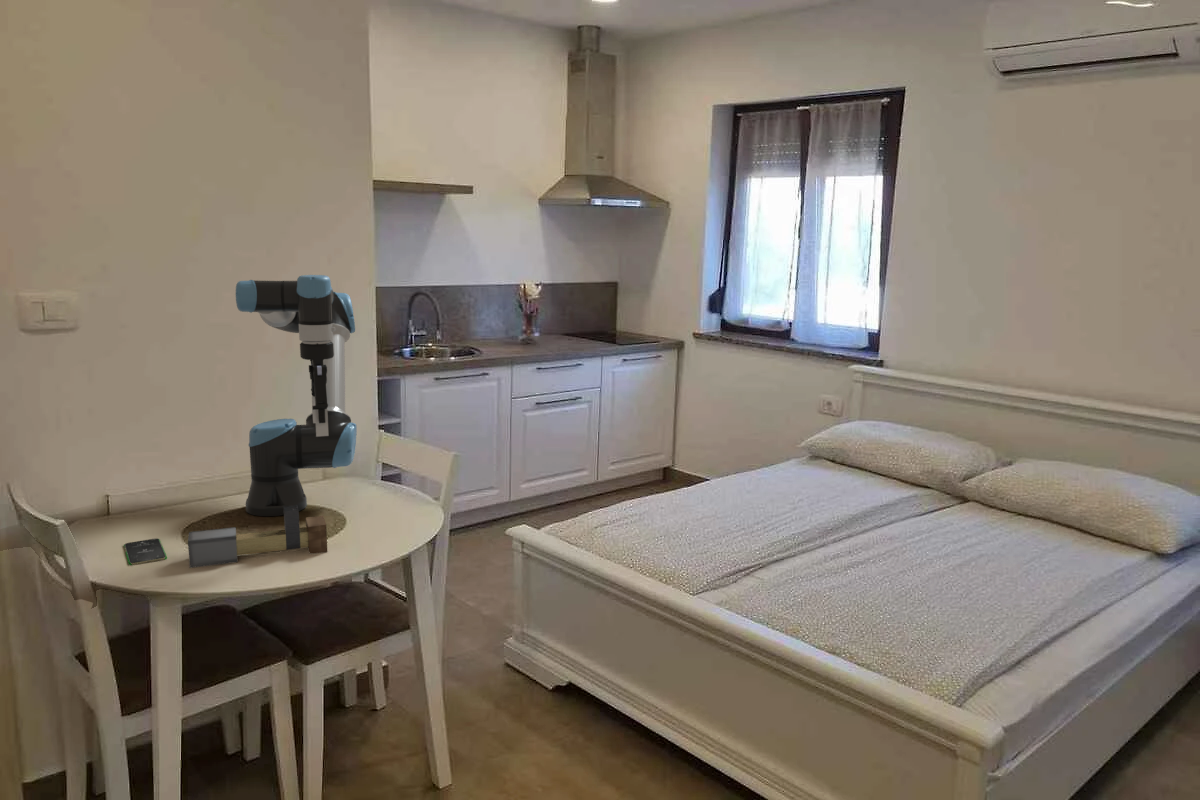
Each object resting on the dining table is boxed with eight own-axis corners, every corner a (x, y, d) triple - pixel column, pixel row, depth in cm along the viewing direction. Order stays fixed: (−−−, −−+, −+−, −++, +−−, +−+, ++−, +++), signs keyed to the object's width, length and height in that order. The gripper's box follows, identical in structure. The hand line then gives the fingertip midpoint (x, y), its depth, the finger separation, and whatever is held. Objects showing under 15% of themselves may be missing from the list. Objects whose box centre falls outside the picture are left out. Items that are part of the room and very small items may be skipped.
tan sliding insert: (232, 556, 190) (229, 517, 188) (232, 550, 193) (229, 511, 192) (319, 546, 197) (318, 508, 195) (318, 540, 200) (316, 503, 199)
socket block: (309, 554, 195) (308, 526, 194) (307, 544, 201) (305, 517, 200) (327, 551, 196) (326, 524, 195) (324, 542, 203) (323, 515, 201)
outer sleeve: (189, 567, 186) (187, 541, 184) (191, 557, 191) (189, 532, 190) (237, 562, 189) (235, 536, 188) (237, 552, 195) (235, 527, 194)
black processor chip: (128, 563, 186) (122, 543, 198) (129, 567, 186) (123, 547, 198) (167, 557, 190) (159, 537, 202) (167, 561, 190) (159, 541, 202)
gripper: (337, 348, 192) (341, 440, 196) (329, 334, 215) (332, 416, 219) (302, 349, 189) (306, 443, 194) (297, 334, 212) (301, 418, 216)
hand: (320, 429), depth 206 cm, fingers open, 13 cm apart
